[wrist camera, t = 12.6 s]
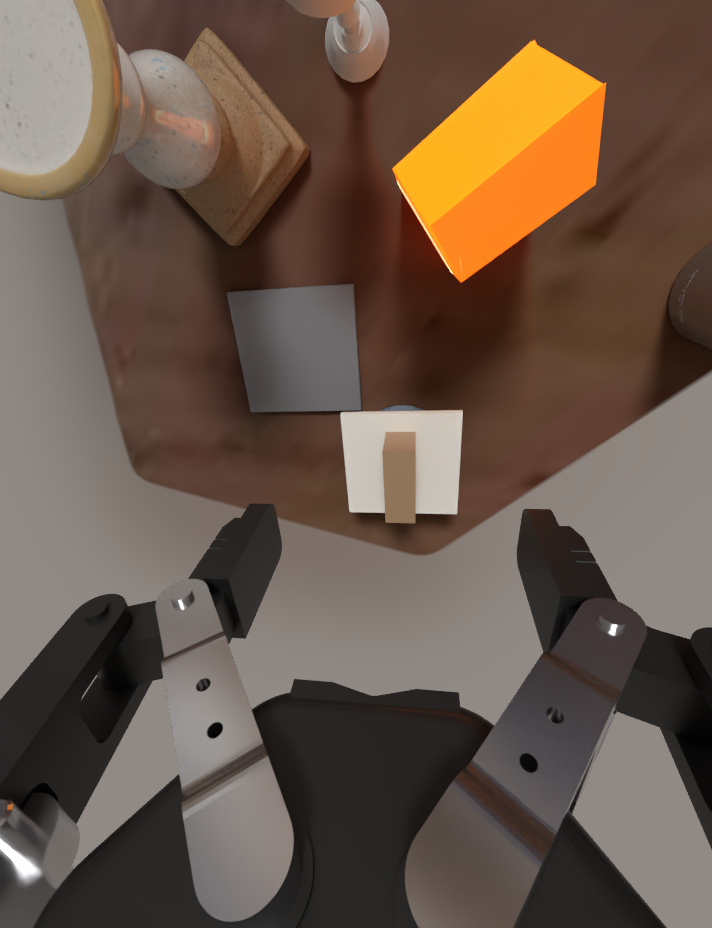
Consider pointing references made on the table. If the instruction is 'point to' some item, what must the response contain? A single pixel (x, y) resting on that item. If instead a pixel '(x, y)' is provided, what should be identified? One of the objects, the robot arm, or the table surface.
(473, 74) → the table surface
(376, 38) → the chalice
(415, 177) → the orange juice
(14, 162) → the candle holder
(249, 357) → the mat
